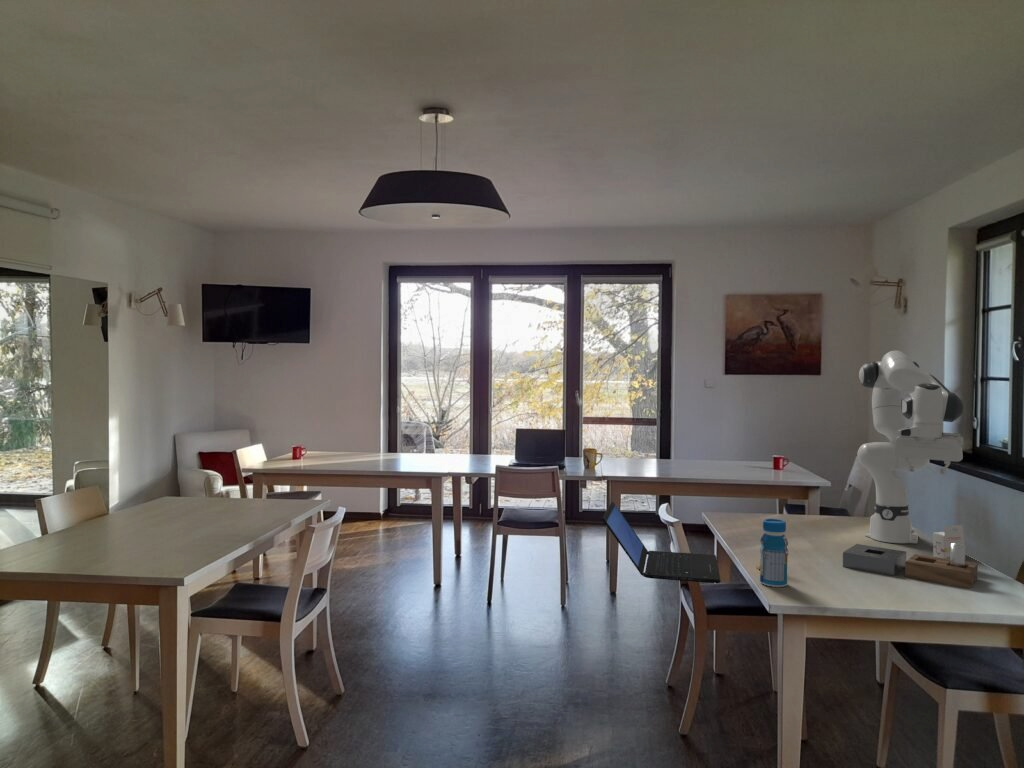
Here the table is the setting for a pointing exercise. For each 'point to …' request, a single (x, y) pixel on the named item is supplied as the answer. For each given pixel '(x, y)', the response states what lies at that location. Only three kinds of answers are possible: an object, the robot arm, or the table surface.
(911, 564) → the walnut rack
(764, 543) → the beverage bottle
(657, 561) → the laptop
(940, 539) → the ink cartridge box
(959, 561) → the metal vial
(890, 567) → the socket block
